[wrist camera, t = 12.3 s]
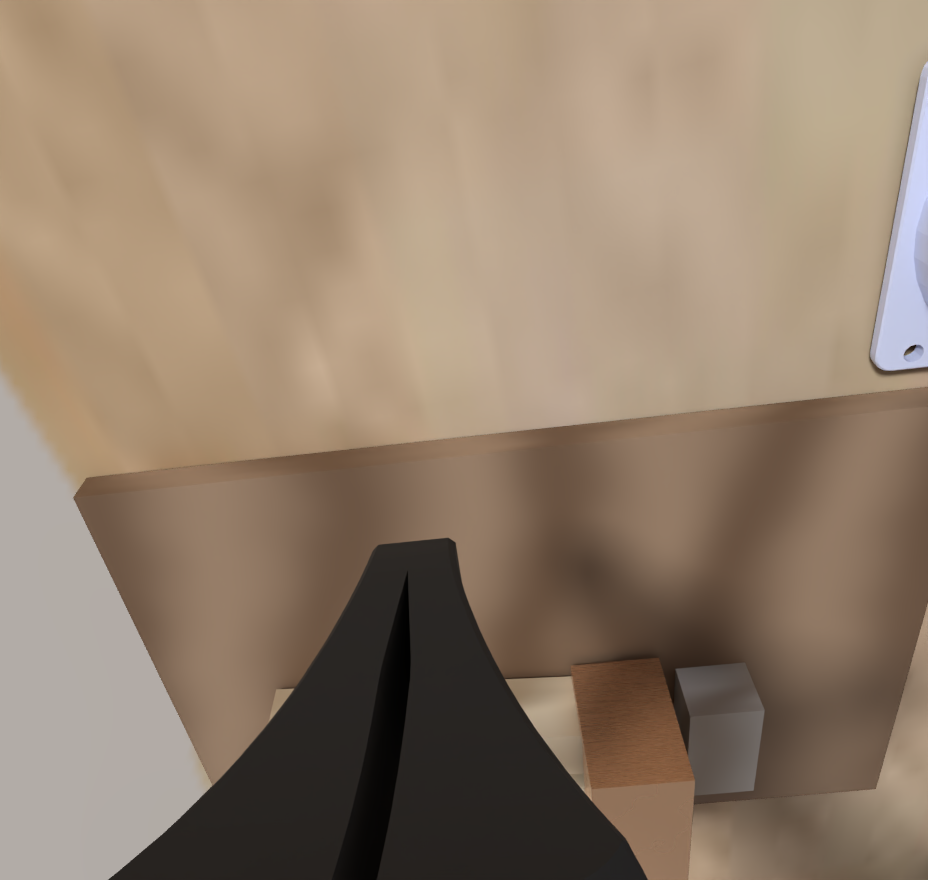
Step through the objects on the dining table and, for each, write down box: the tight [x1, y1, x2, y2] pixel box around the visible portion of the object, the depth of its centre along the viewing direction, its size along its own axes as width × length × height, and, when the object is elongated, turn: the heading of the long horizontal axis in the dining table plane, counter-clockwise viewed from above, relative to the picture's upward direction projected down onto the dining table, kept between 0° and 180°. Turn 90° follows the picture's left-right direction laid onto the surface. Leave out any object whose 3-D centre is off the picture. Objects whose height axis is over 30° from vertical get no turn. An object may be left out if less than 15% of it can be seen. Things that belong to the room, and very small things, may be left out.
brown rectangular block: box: [570, 658, 695, 880], centre depth 26 cm, size 3×6×5 cm, turn 7°
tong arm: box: [269, 676, 584, 774], centre depth 26 cm, size 13×2×2 cm, turn 93°
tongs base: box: [73, 387, 928, 804], centre depth 26 cm, size 26×18×4 cm
